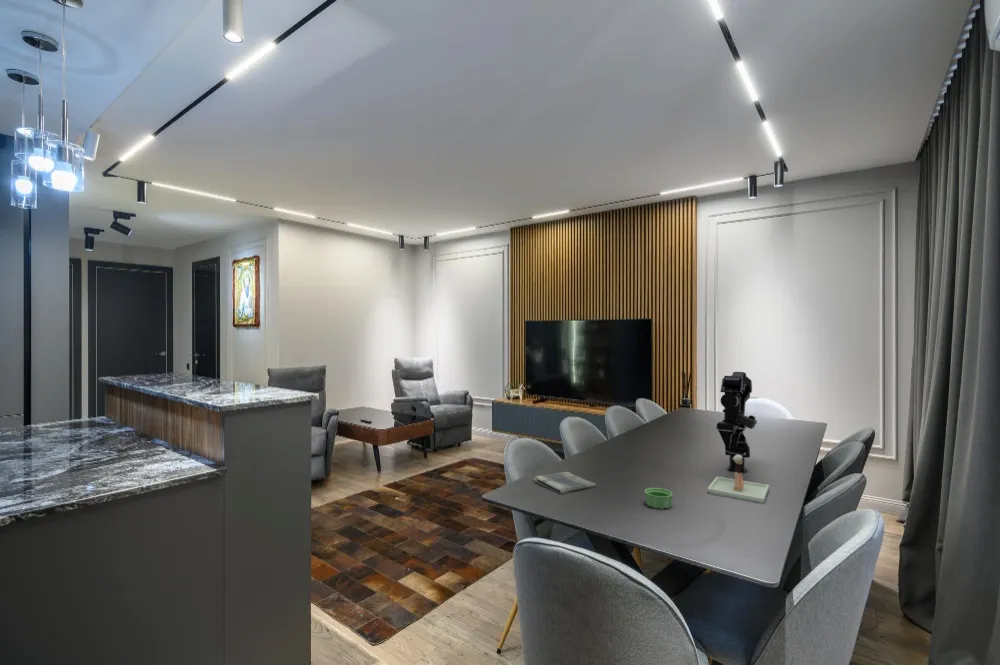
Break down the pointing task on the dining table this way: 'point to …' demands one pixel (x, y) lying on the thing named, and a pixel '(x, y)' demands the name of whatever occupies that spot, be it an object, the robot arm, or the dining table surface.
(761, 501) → the sage tray
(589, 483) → the dish towel
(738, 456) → the grandmother figurine
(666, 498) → the ramekin
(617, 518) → the dining table surface
